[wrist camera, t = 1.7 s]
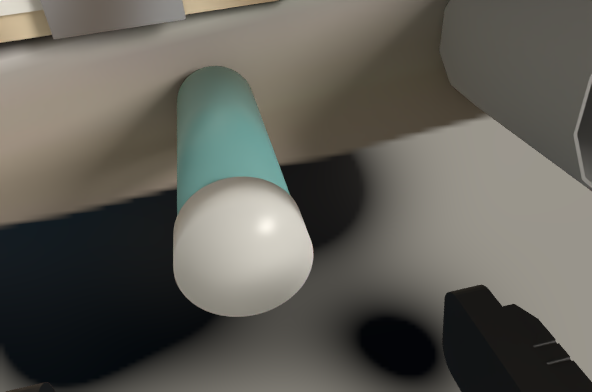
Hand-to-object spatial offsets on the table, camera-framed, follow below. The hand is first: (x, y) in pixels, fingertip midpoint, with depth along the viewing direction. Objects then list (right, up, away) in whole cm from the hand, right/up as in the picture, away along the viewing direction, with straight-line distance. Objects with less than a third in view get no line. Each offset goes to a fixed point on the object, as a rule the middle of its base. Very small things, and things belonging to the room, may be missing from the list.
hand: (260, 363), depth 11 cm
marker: (-3, +8, +13) cm, 16 cm away
